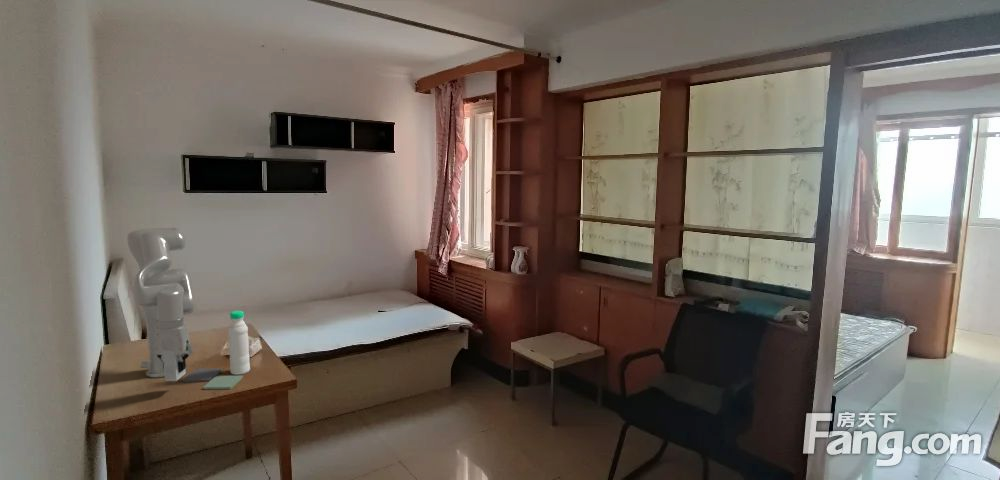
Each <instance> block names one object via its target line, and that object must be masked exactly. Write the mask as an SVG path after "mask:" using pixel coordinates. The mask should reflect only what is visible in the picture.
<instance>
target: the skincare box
mask: <svg viewBox="0 0 1000 480" xmlns="http://www.w3.org/2000/svg"><path fill="white" fill-rule="evenodd" d="M162 352H163V363H164V375H165V377H164V381H165V382H177V381H178V380H180V379H181V378H182V377H183V376H185V375H186V368H185V369H184V370H183V371H182V372H178V362H179V358H178V355H175V351H174V350H162Z"/></svg>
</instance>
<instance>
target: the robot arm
mask: <svg viewBox="0 0 1000 480" xmlns="http://www.w3.org/2000/svg"><path fill="white" fill-rule="evenodd" d="M127 245H128V249H129V251H130V253H131V255H132V257H133V259H134V260H135V261H136V263H137V264H138V267H139V270H138V272H137V273H136V275H135V277H134V282H133V287H134V293H135V298H136V301H137V304H138V305H139V306H140V307H141V310H142V312H143V316H144V320H145V326H146V335H147V343H148V344H147V345H148V354H149V356H148V357H149V360H142V361H141V362H140V368H142V369H143V368H145V369H146V368H147V369H146V370H145V375H146V376H147V377H150V378H163V377H164V378H165V375H164V363H163V352H162V350H174V351H175V355H178V358H179V362H178V372H182V371H183V370H184V369H185V370H186V367H187V364H186V360H187V359H188V357H190V356H192V355H193V354H194V353H195V349H193V347H192V346H191V344H190V343H191V341H190V334H189V331H188V327H187V325H186V324H185V320H184V316H185V315H186V316H187V315H189V314H192V313H194V312H195V311H196V306H197V303H196V298H195V294H194V289H193V285H192V281H191V278H190V274H189V272H188V271H187V269H185V268H171V267H172V265H173V260H172V257H171V253H170V252H172V251H182V250H184V248H185V246H186V238H185V235H184V233H183V232H182V231H181V229H179V228H177V227H157V228H156V227H154V228H141V229H134V230H132V231H131V232H129V233H128V235H127ZM186 352H187V353H186Z"/></svg>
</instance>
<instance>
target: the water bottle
mask: <svg viewBox="0 0 1000 480" xmlns="http://www.w3.org/2000/svg"><path fill="white" fill-rule="evenodd" d="M229 316H230V320H231V322H230V324H229V326H228V329H227V333H228V352H229V364H230V366H229V367H230V368H229V369H230V370H229V371H230V373H231V375H233V376H241V375H244V374H247V373H248V372H249V371H250V370H251V364H250V353H249V351H250V343H249V342H250V341H249V340H250V339H249V334H248V331H249V327H248V325H247V324H246V322H245V321H244V317H245V314H244V311H242V310H235V311H231V312H230V314H229Z"/></svg>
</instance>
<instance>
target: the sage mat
mask: <svg viewBox="0 0 1000 480" xmlns="http://www.w3.org/2000/svg"><path fill="white" fill-rule="evenodd" d="M243 378H244V376H243V375H217V376H215V377H214V378H213V379H212V380H211V381H207V383H206V384H205V385H204V386H202V390H231V389H233V387H234V386H235V385H237V384H238V383H239V382H240V380H242V379H243Z"/></svg>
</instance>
